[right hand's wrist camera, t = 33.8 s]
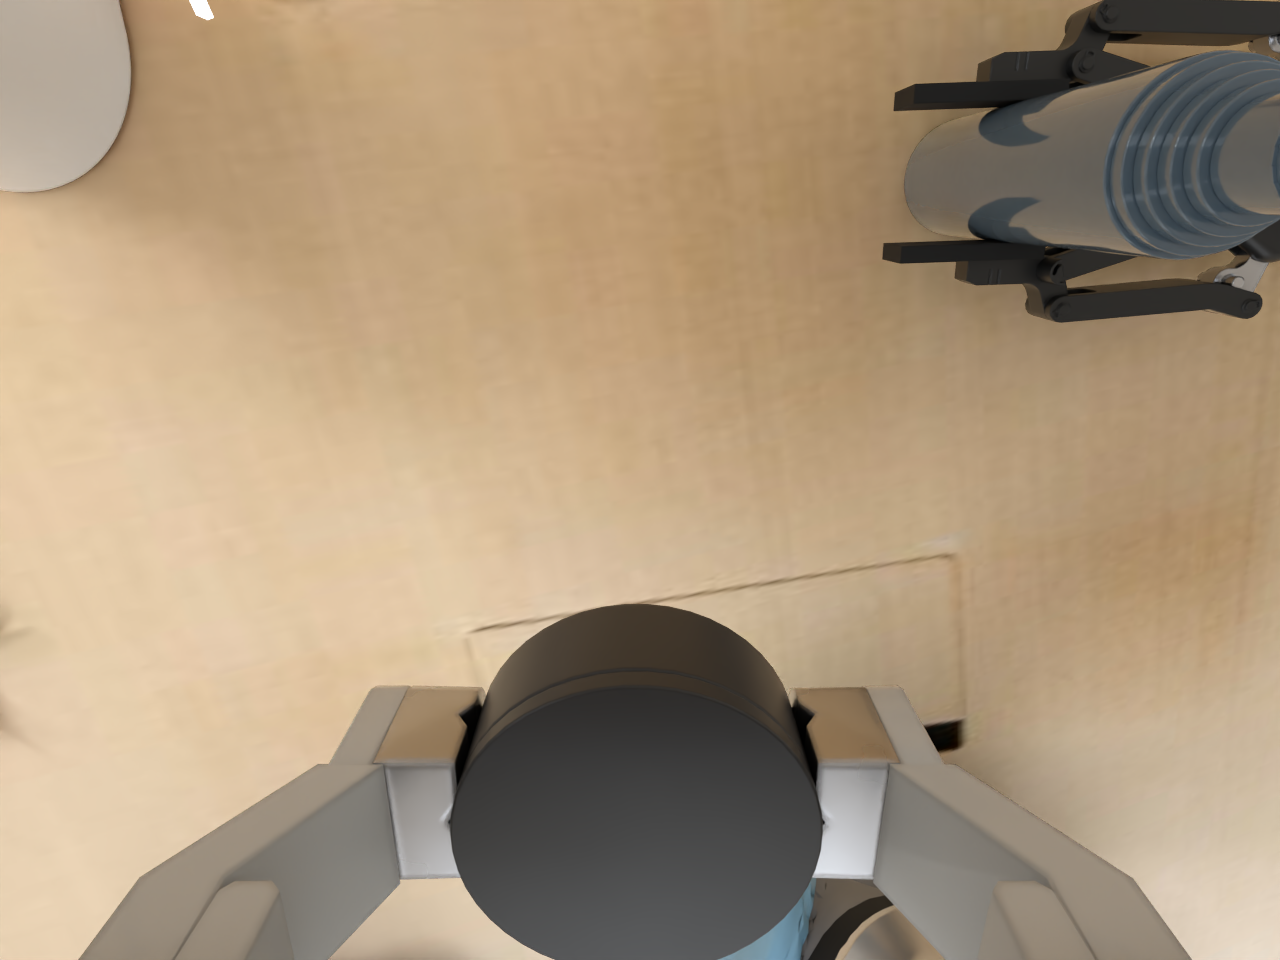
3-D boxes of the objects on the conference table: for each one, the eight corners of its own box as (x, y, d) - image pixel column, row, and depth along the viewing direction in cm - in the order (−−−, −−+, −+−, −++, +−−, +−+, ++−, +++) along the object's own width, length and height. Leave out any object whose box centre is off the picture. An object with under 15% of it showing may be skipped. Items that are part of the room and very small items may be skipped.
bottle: (1033, 190, 40) (1518, 175, 18) (937, 258, 41) (1279, 322, 19) (982, 92, 39) (1445, -57, 16) (883, 165, 40) (1189, 119, 18)
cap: (501, 575, 10) (472, 656, 8) (831, 632, 10) (870, 721, 8) (462, 835, 11) (431, 950, 9) (750, 877, 11) (770, 997, 10)
